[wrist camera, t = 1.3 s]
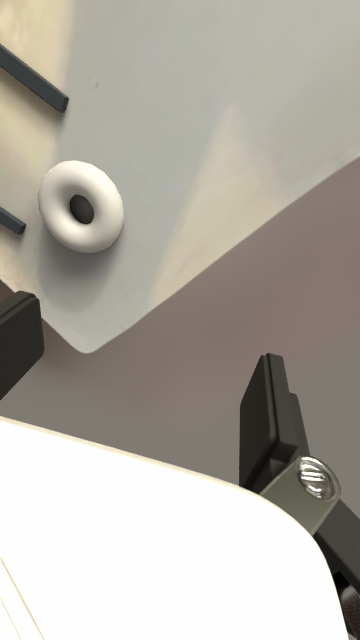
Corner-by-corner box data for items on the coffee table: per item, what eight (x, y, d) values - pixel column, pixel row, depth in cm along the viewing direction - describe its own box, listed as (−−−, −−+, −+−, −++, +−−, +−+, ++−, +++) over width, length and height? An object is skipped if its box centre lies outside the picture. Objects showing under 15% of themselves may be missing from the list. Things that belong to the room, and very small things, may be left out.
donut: (138, 181, 32) (52, 143, 32) (128, 185, 29) (34, 144, 29) (117, 259, 38) (44, 229, 37) (107, 270, 35) (28, 237, 34)
